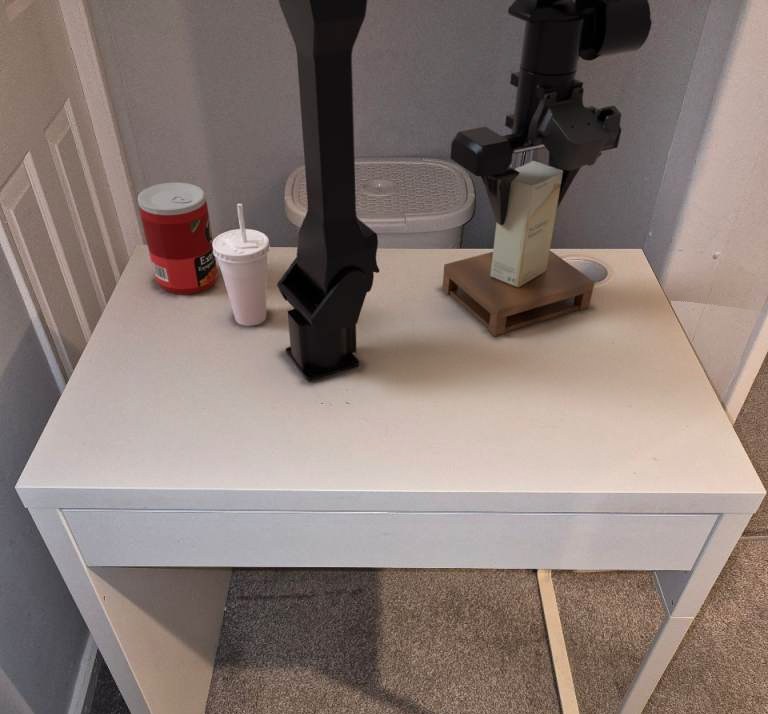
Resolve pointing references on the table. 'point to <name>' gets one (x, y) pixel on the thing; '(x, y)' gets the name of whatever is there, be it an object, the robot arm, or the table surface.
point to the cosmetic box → (527, 225)
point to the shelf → (516, 293)
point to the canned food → (178, 237)
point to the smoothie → (244, 270)
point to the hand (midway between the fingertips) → (525, 217)
